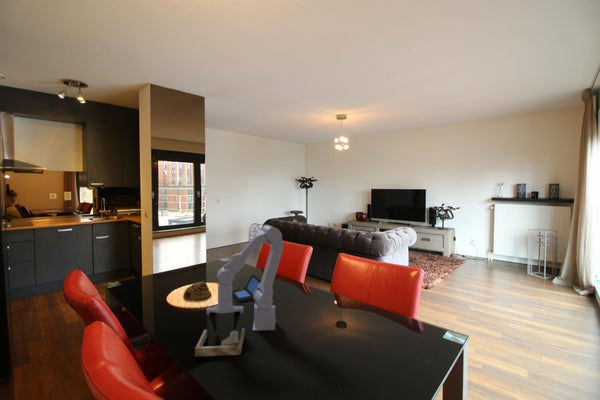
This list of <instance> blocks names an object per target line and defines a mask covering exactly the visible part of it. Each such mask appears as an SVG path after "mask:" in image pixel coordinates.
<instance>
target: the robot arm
mask: <svg viewBox="0 0 600 400" xmlns="http://www.w3.org/2000/svg"><path fill="white" fill-rule="evenodd" d="M266 244H268V245H269V247H270V248H269V249H270V250H269V254H268V257H267V260H266V264H265V267H264V269H263V273H262V277H261V280H260V281H261V282H260V283H259V284H258V286H257V288H256V290H255V291H254V293H253V299H254V300H253V301H255V302H254V305H253V310H254V311H253V315H254V316H253V319H254V320H253V325H252V331H254V332H255V331H257V332H258V331H259V332H260V331H275V330H276V324H277V318H276V305H275V304H274V305H273V302H274V300H273V295H274V291H273V290H274V289H273V284H274V282H275V277H276V275H277V271H278V268H279V265H280V261H281V258H282V254H283V251H284V242H283V234H282V232H281V231H280V229H279V228H277V227H275V226H272V225H271V224H264V225H263V226H262V227H261V228H260V229H258V230H257V232H256V233H255V234H254V236H253V237H252V238H251V240H250V241H249V242H248V243H247V245H245V247H244V248H243V249H242V251H241V252H237V253H235V254H232V255H231V256H230V259H229V260H228V262H226V264H223V266H222V267H220V269H218V270H217V273H216V278H217V279H218V283H217V285H218V286H217V305H216V306H211V307H207V308H206V315H208V319H209V321H210V322H211V324H212V326H213V330H214V332H217V330H218V314H229V313H230V314H231V313H232V314H233V313H234V314H233V331H237V324H238V321H239V319H240V316H241V314H243V313H244V306H241V305H239V306H238V305H233V295H232V291H233V282H234V279H235V275H237V273H239V271H240V270H242V268H243V267H244V266H245V265H246V264H247V259H248V258H249V256H250V255H251V254H252V253H253V252H254V251H255V250H256V249H257V248H258V247H259V246H260V245H266Z"/></svg>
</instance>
